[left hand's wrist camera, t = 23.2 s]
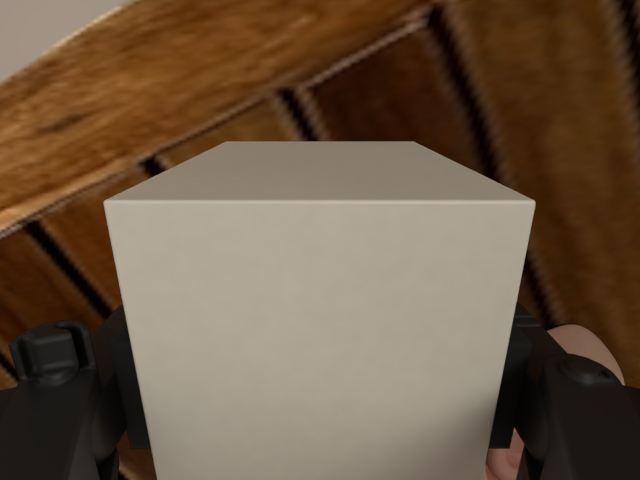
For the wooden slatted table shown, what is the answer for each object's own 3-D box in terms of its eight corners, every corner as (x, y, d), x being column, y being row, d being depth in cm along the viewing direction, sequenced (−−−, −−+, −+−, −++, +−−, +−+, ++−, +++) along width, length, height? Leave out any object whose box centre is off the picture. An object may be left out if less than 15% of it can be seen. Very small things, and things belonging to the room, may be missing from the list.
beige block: (225, 141, 14) (100, 200, 6) (414, 141, 14) (537, 200, 6) (241, 345, 17) (172, 563, 9) (398, 345, 17) (467, 563, 9)
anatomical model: (584, 337, 21) (721, 425, 23) (544, 300, 25) (666, 380, 27) (431, 486, 25) (561, 550, 27) (416, 435, 29) (532, 495, 31)
